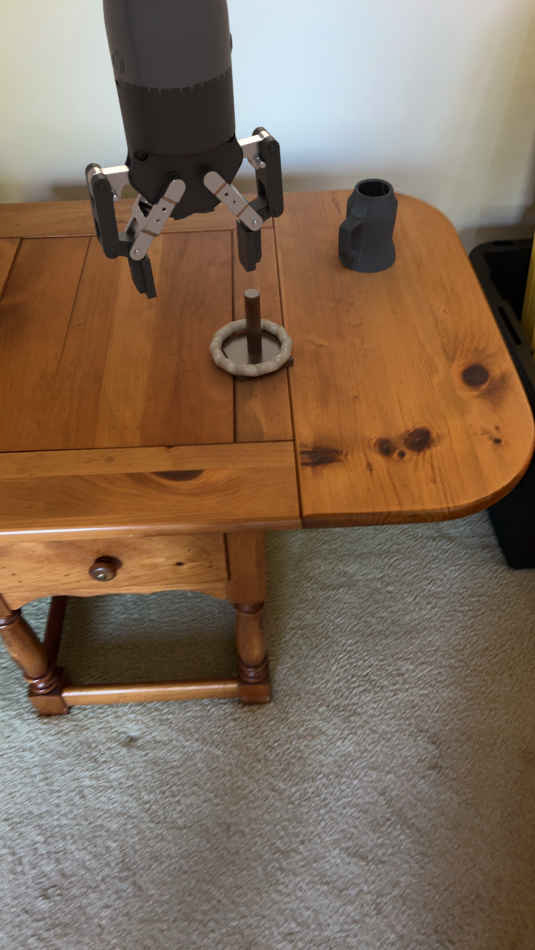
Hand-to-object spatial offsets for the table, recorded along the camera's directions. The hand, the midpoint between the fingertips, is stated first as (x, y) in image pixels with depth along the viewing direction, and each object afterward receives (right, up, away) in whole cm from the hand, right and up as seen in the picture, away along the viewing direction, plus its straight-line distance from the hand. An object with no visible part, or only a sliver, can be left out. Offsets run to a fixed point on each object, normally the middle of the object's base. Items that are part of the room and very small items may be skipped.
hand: (199, 279), depth 54 cm
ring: (+3, +1, +35) cm, 35 cm away
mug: (+21, +18, +50) cm, 57 cm away
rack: (+4, 0, +36) cm, 37 cm away
